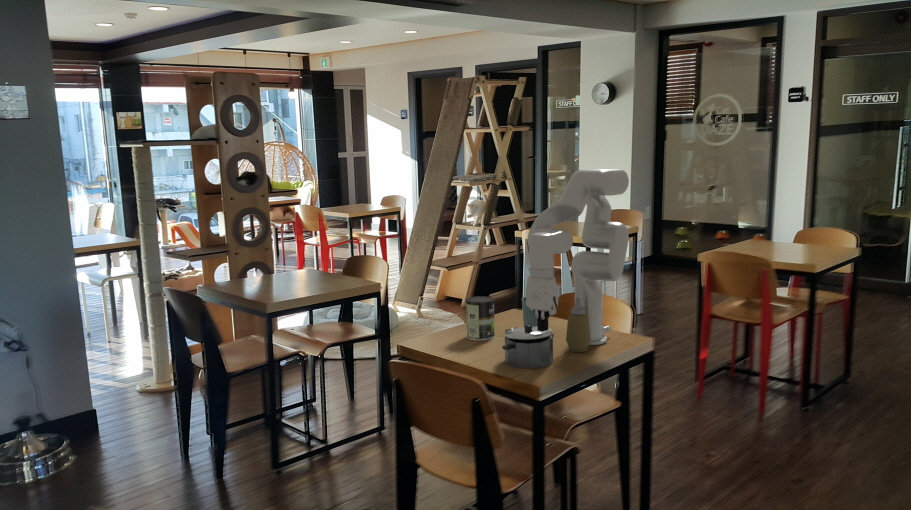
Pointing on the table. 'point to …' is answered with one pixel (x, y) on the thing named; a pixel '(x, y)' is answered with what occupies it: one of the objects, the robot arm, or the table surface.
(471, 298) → the coffee can
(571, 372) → the table surface
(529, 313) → the blue-green cup
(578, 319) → the squeeze bottle
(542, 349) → the pot
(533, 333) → the lid
